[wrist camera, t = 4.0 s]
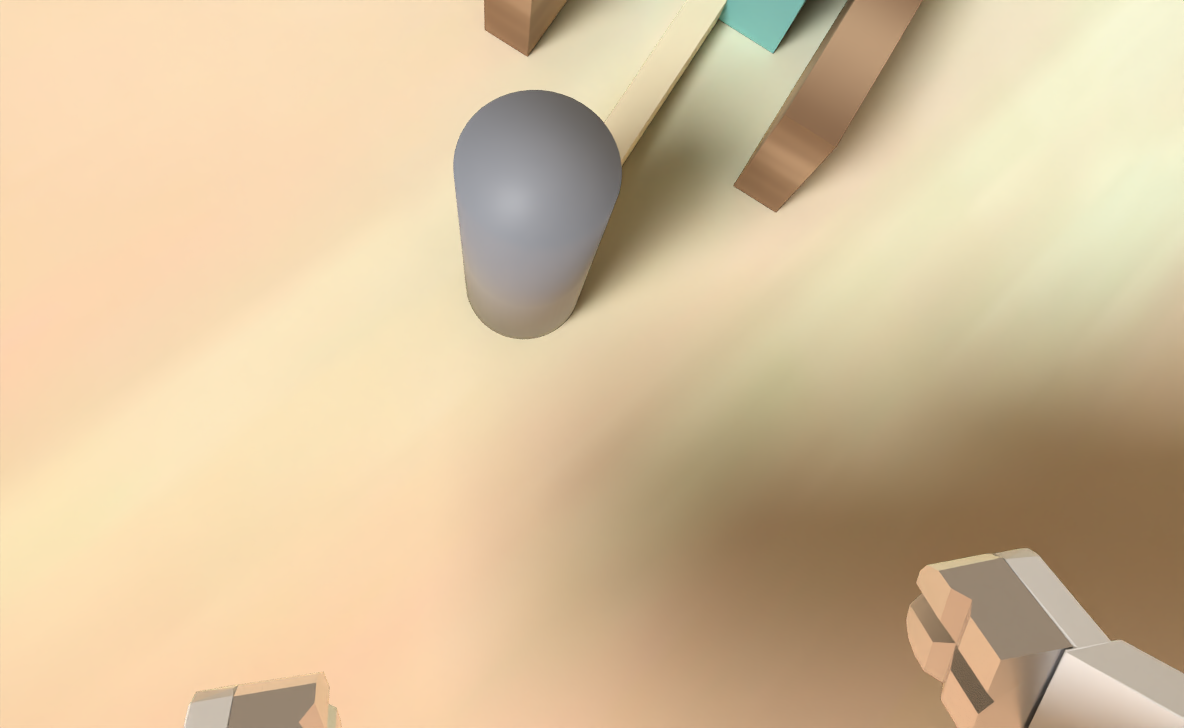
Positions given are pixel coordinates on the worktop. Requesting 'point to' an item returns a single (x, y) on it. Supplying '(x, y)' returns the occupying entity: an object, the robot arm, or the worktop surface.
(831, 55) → the tray
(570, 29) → the worktop surface
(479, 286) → the block
